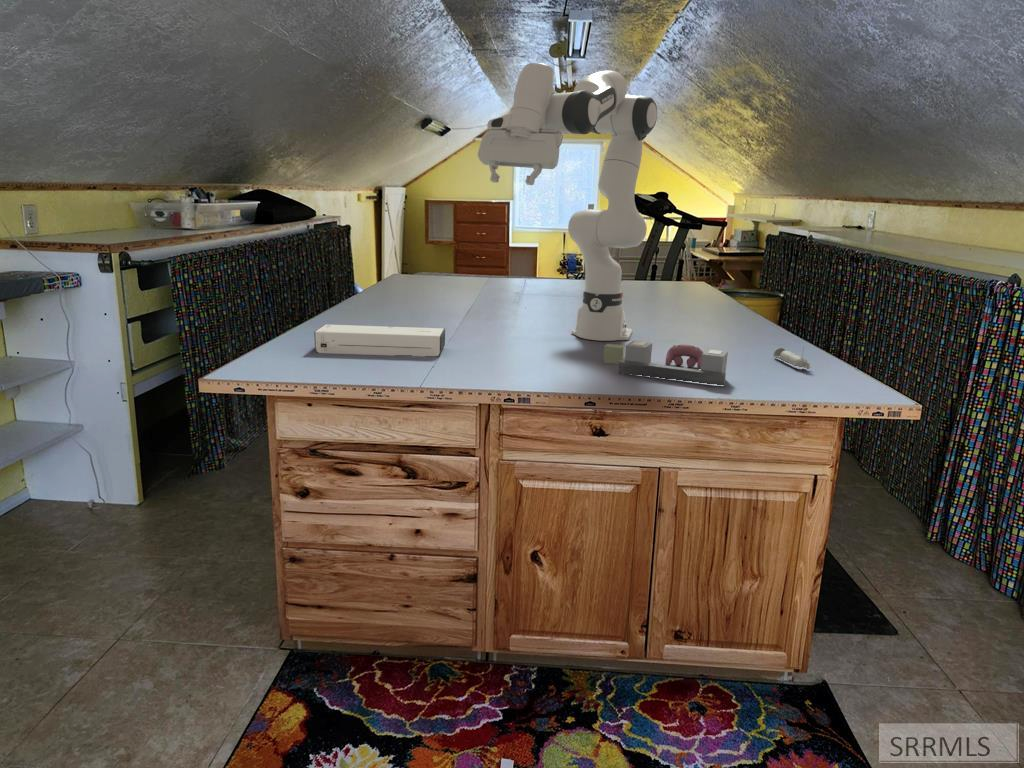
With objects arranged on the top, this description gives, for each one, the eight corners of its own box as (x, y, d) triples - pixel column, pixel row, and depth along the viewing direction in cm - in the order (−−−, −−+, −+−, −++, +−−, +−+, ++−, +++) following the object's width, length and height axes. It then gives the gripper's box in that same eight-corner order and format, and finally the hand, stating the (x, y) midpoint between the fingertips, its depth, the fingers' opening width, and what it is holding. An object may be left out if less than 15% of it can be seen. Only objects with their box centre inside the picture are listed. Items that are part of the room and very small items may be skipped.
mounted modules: (631, 367, 192) (633, 339, 190) (724, 379, 183) (727, 350, 181) (623, 373, 186) (626, 344, 184) (720, 385, 177) (723, 355, 175)
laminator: (444, 349, 208) (445, 328, 207) (440, 359, 197) (440, 336, 195) (325, 345, 209) (325, 324, 207) (313, 355, 197) (313, 332, 195)
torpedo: (768, 358, 209) (770, 336, 207) (783, 358, 209) (786, 336, 208) (799, 374, 191) (802, 350, 190) (816, 374, 192) (820, 350, 190)
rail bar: (620, 372, 187) (620, 359, 186) (724, 386, 176) (725, 373, 175) (617, 374, 184) (618, 361, 184) (722, 388, 174) (724, 375, 173)
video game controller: (702, 373, 195) (705, 348, 196) (702, 369, 190) (705, 343, 192) (665, 369, 198) (668, 345, 199) (663, 365, 193) (667, 340, 195)
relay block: (605, 359, 201) (606, 343, 199) (623, 361, 199) (624, 345, 198) (603, 363, 197) (604, 346, 196) (622, 364, 196) (623, 348, 194)
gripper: (568, 136, 175) (555, 191, 174) (492, 132, 183) (480, 185, 182) (560, 123, 169) (546, 180, 168) (482, 120, 177) (469, 174, 176)
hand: (511, 182), depth 175 cm, fingers open, 8 cm apart
